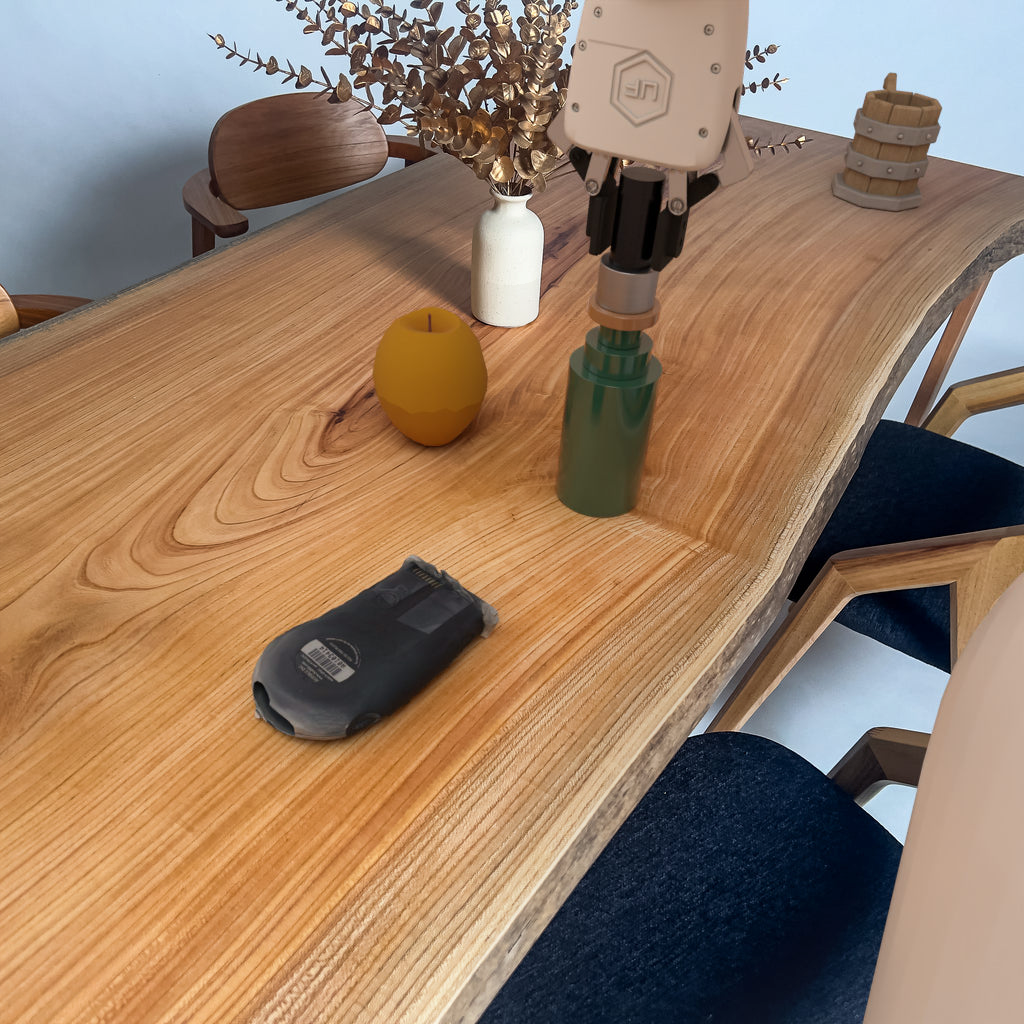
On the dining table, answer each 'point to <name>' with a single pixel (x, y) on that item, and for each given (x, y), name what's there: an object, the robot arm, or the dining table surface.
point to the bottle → (608, 413)
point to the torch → (632, 244)
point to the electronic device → (368, 653)
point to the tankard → (889, 149)
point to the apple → (430, 375)
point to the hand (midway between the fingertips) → (631, 254)
